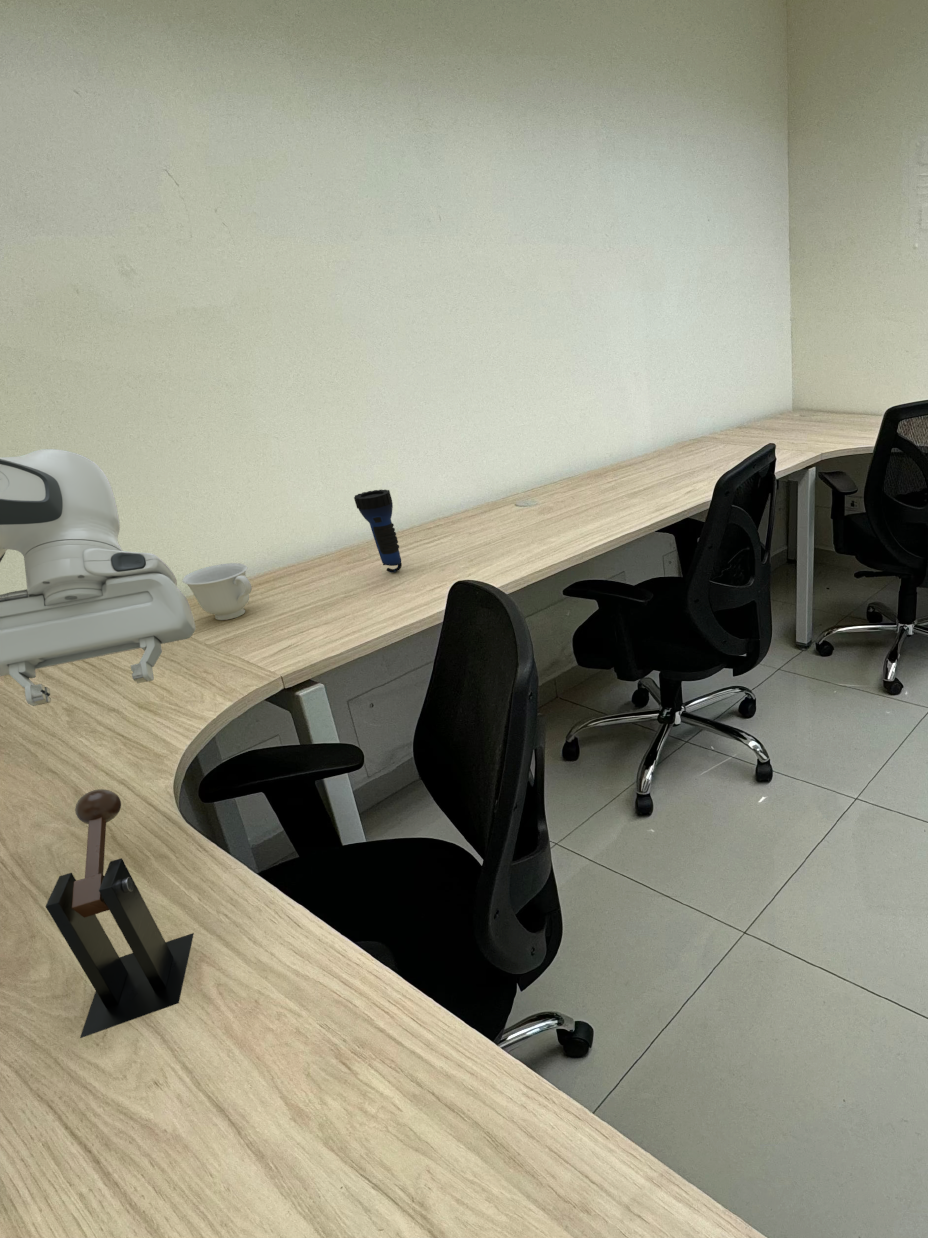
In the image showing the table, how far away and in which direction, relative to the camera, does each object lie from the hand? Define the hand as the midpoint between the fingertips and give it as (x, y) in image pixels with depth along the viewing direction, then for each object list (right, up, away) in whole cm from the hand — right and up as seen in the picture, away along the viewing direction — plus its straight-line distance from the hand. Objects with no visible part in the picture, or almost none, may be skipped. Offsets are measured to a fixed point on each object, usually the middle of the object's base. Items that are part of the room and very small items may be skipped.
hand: (92, 691), depth 84 cm
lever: (+7, -16, -7) cm, 19 cm away
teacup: (-40, +9, +84) cm, 94 cm away
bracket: (+10, -30, -5) cm, 32 cm away
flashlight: (-15, +20, +104) cm, 107 cm away
